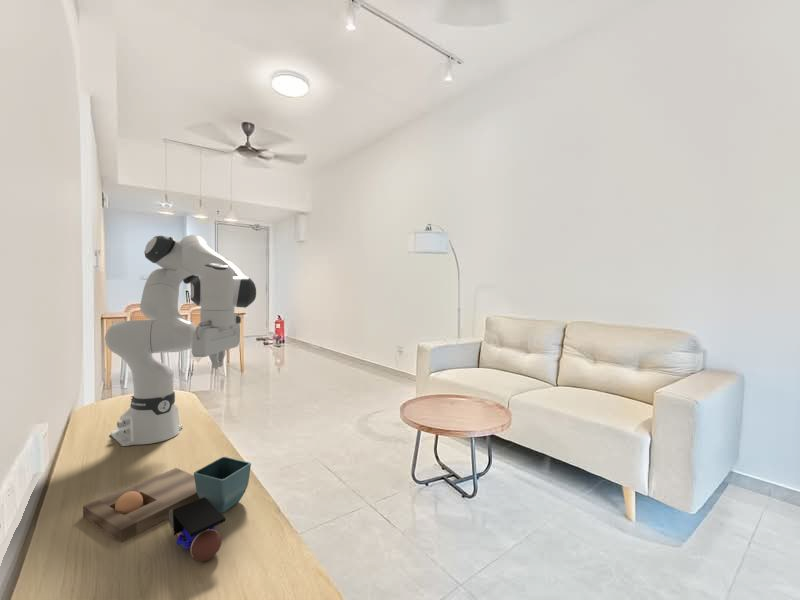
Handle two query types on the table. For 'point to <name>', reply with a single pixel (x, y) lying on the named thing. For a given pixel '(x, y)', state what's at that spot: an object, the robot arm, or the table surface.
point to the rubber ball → (129, 502)
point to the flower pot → (223, 482)
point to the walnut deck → (157, 498)
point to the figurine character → (197, 528)
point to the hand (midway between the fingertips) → (217, 367)
